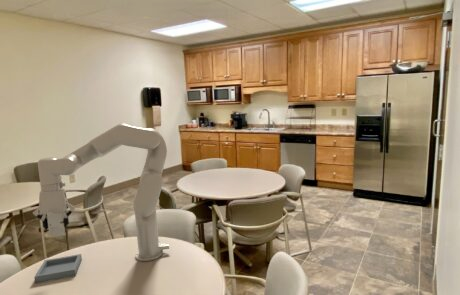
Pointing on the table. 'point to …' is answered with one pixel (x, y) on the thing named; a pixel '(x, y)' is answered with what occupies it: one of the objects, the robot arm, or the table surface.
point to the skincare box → (55, 224)
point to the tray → (58, 268)
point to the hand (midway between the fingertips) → (56, 227)
